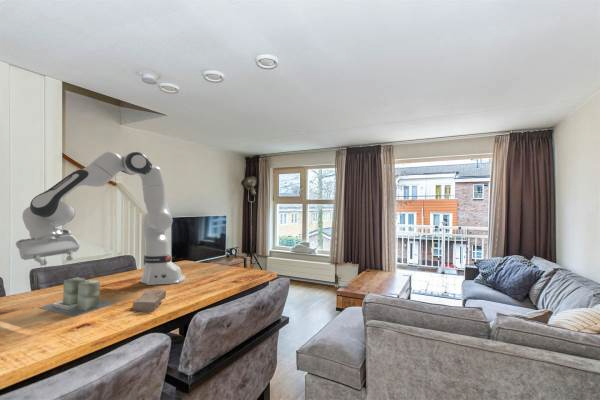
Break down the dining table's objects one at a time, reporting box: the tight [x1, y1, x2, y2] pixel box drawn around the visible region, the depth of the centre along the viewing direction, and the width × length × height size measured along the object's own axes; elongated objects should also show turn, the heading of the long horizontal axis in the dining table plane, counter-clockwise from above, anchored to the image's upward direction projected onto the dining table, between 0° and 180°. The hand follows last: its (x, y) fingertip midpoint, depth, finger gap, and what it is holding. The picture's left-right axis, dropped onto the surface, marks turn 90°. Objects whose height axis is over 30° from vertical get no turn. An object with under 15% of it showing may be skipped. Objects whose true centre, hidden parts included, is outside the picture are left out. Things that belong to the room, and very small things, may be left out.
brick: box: [131, 288, 167, 314], centre depth 119 cm, size 16×8×5 cm, turn 10°
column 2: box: [77, 279, 101, 311], centre depth 111 cm, size 5×5×10 cm
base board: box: [37, 299, 117, 318], centre depth 114 cm, size 16×22×2 cm
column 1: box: [62, 276, 86, 306], centre depth 115 cm, size 5×5×10 cm
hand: (57, 262), depth 121 cm, fingers open, 8 cm apart
